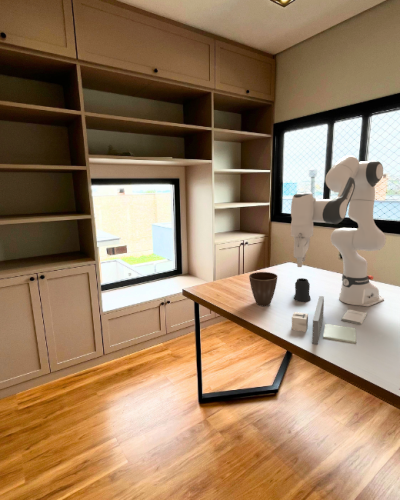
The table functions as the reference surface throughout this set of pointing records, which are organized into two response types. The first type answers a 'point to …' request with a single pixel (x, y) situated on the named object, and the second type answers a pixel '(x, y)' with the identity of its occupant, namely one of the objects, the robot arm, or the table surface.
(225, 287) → the table surface
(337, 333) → the pad
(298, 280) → the mug
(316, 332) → the screen
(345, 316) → the external hard drive
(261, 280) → the plant pot
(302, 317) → the letter cube
